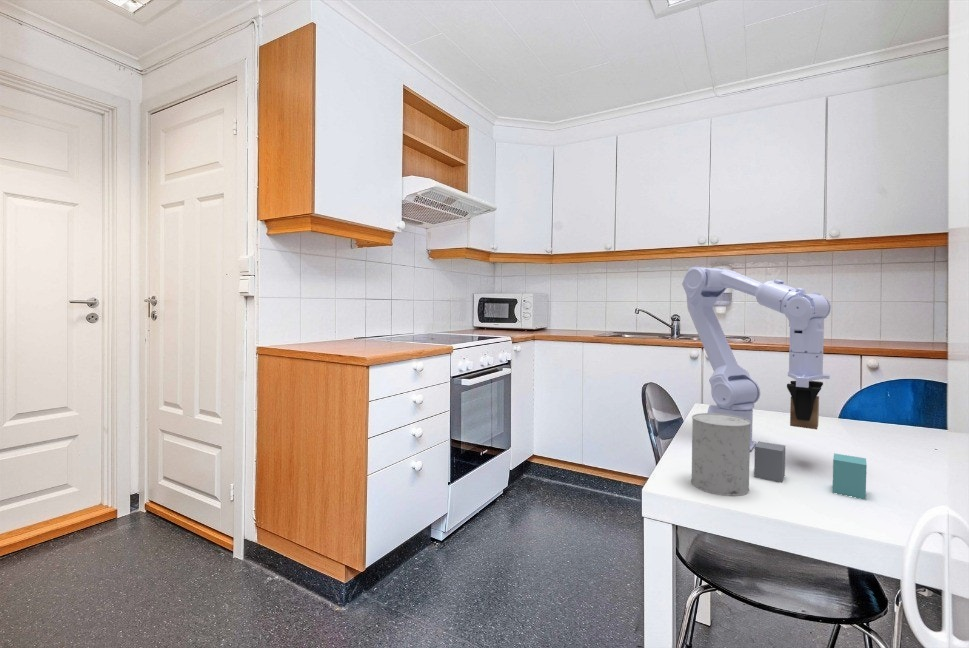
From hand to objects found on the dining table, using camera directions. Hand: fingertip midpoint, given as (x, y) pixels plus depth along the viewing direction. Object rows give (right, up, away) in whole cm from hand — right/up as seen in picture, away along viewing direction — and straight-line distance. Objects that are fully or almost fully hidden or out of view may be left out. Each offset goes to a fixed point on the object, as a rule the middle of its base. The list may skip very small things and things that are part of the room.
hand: (804, 417), depth 95 cm
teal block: (-2, -10, -14) cm, 17 cm away
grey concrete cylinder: (-23, -11, -11) cm, 27 cm away
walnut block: (0, -2, 0) cm, 2 cm away
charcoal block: (-11, -10, -6) cm, 16 cm away
